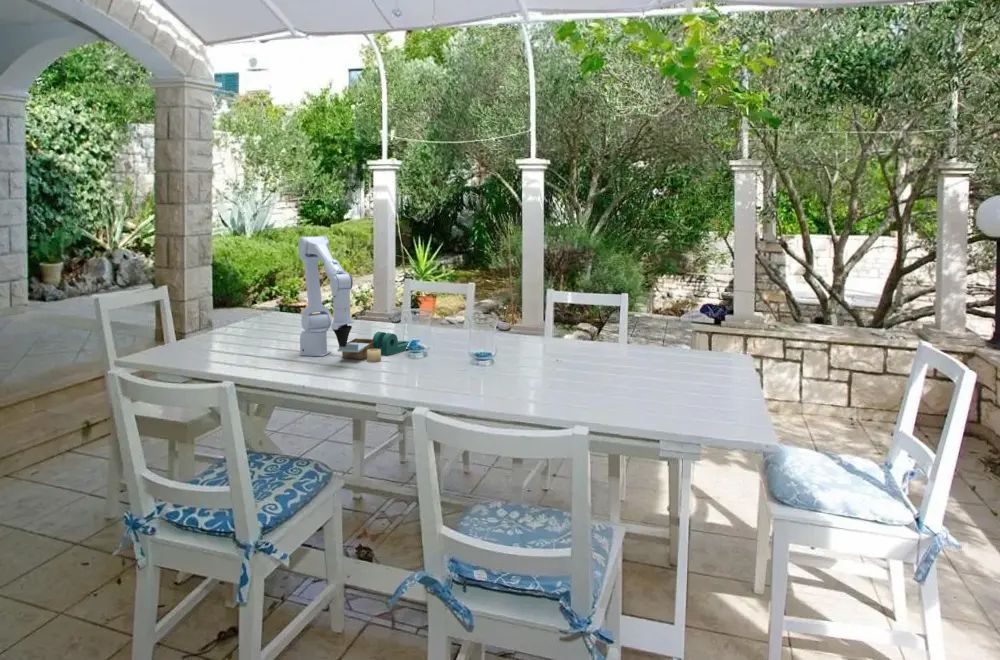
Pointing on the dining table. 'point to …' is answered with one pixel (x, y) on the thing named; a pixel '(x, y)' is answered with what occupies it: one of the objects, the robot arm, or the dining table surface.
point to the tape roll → (373, 355)
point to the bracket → (388, 343)
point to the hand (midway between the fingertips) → (342, 346)
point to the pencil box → (362, 353)
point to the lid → (353, 347)
